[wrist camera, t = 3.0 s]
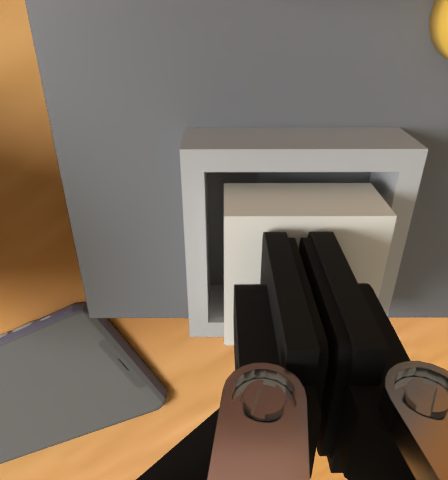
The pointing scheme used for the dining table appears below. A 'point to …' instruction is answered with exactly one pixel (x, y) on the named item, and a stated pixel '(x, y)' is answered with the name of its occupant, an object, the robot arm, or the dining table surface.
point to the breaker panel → (240, 135)
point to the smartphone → (69, 381)
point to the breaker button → (303, 229)
